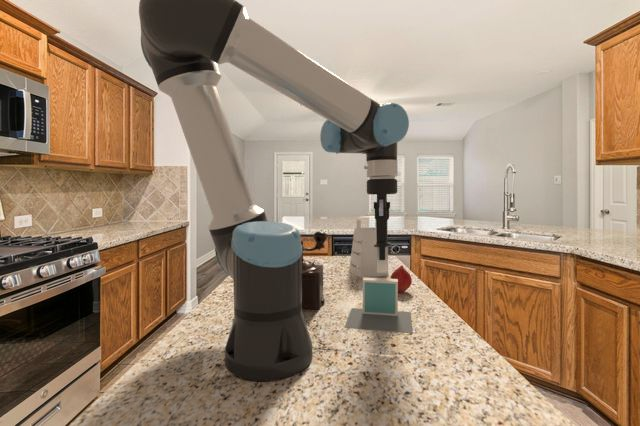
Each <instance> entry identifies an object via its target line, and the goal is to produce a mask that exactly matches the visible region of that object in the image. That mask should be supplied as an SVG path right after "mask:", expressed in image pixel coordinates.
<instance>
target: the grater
mask: <svg viewBox="0 0 640 426" xmlns="http://www.w3.org/2000/svg"><path fill="white" fill-rule="evenodd" d="M363 218H374V219H375V215H367V216H358V217H357V218H356V227H355V228H354V229H353V230H354V231H353V238H352V245H351V254H350V260H349V266H348V271H349V272H351V273H353V275H355V276H357V277H359V278H362V279H363V278H364V277H365V278H375V277H383V276H389V275H390V274H389V272H388V273H380V272H377V247H374V244H376V242H377V233H376V219H375V223H374V224H375V225H374V226H375V227H372V226H370V227H362V220H363Z"/></svg>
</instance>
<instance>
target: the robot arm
mask: <svg viewBox="0 0 640 426" xmlns="http://www.w3.org/2000/svg"><path fill="white" fill-rule="evenodd" d="M138 3H139V5H138V14H139V15H138V16H139V22H140V23H139V24H140V46H141V51H142V55H143V57H144V59H145V61H146V63H147V65H148V66H149V67H150V68H151V70H152V73H153V75H154V76H153V77H154V79H155V82H156V85H157V87H158V90H159V91H160V92H162V93H164V94H165V95H167V96H168V97H170V98H171V102H172V104H173V107H174V110H175V113H176V115H177V118H178V121H179V124H180V126H181V130H182V133H183V134H184V135H183V136H184V138H185V141H186V144H187V146H188V149H189V153H190V155H191V159H192V161H193V163H194V167H195V170H196V172H197V175H198V178H199V181H200V184H201V187H202V189H203V193H204V196H205V198H206V201H207V204H208V206H209V210H210V212H211V215H212V219H211V221H210V223H209V225H208V231H209V233H210V236H211V239H212V241H213V243H214V244H213V246H214V247H215V249H214V252H215V258H216V262H217V264H218V265H219V267H220V268H221V270H223V271H224V272H225V273H226V274H227V275H229V277H230V278H231V279H232V282H233V285H232V286H233V311H234V313H233V315H234V316H233V322H232V324H231V326H230V327H231V328H230V330H229V334H228V337H227V340H226V345H225V347H224V366H225V368H226V370H227V371H228V373H230V374H231V375H233V376H235V377H237V378H239V379H243V380H248V381H256V382H257V381H258V382H261V381H262V382H268V381H275V380H276V381H277V380H281V379H284V378H289V377H292V376H294V375H297V374H298V373H299V372H302V371H304V369H306V368H307V367H308V366H309V365H310V364H311V362H312V360H313V341H312V337H311V336H310V333H309V329H308V326H307V323H306V321H305V318H304V314H303V310H302V244H301V241H302V238H301V237H302V236H301V233H300V231H299V229H297V227H296V226H294V225H292V224H289V223H285V222H277V221H269V220H268V218H267V215H266V213H265V210H264V208H261V207H260V206H258V205H256V204H255V202H254V198H253V197H252V193H251V190H250V186H249V183H248V180H247V178H246V174H245V172H244V169H243V168H244V167H243V165H242V162H241V159H240V155H239V153H238V149H237V147H236V144H235V141H234V137H233V134H232V131H231V129H230V126H229V123H228V120H227V119H228V118H227V116H226V112H225V109H224V107H223V104H222V100H221V97H220V95H219V91H218V84H219V82H220V80H221V78H222V74H221V72H220V68H219V65H222V64H225V63H228V64H231V65H232V66H234V67H236V68H237V69H239V70H240V71H243V72H244V73H246V74H247V75H249V76H251V77H252V78H255V79H256V80H258V81H260V82H261V83H263V84H265V85H266V86H268V87H270V88H272V89H273V90H275V91H277V92H279V93H281V94H282V95H284V96H285V97H288V98H289V99H290V100H293V101H294V102H296V103H298V104H300V105H301V106H303V107H305V108H306V109H309V111H312V112H313V113H315V114H317V115H319V117H322V118H323V119H326V120H325V121H324V122H323V124H322V126H321V129H320V136H319V137H320V144H321V147H322V149H323V150H324V151H325V152H326V153H334V154H362V155H363V154H365V157H366V164H367V165H364V166H363V169H364V170H366V177H367V178H369V179H367V180H366V194H367V195H376V201H373V209H374V216H375V218H374V219H376V233H377V242H376V244H374V247H377V272H380V273H389V246H391V242H389V238H388V220H390V207H391V201H388V195H396V194H397V193H398V179H397V178H396V177H397V176H399V174H398V170H399V169H398V167H399V166H398V143H399V142H401V141H403V139H404V138H405V137H406V135H407V133H408V131H409V127H410V120H409V115H408V114H407V111H406V110H405V108H404V107H403V106H401V105H400V104H399V103H395V102H389V103H387V102H386V103H383V104H380V103H379V102H377V101H375V100H374V99H372V98H371V97H369V96H367V95H366V94H364V93H363V92H361V90H359V89H357V88H355V87H354V86H352V85H351V84H350V83H348V82H346V81H345V80H344V79H342V78H340V77H339V76H337V75H336V74H334V73H333V72H332V71H329V70H328V69H327V68H325V67H323V65H320V64H319V63H318V62H316V61H315V60H313V59H312V58H311V57H308V56H307V55H306V54H304V53H303V52H301V51H299V50H298V49H297V48H295V47H293V45H291V44H289V43H288V42H286V41H284V40H283V39H281V38H280V37H279V36H277V35H275V34H273V32H272V31H270V30H268V29H266V28H265V27H264V26H262V25H260V24H259V23H257V22H256V21H255V20H253V19H251V18H250V17H249V16H248V13H247V10H246V6H244V5H243V4H242V3H240V2H238V1H237V0H139V2H138Z"/></svg>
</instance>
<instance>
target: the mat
mask: <svg viewBox="0 0 640 426" xmlns="http://www.w3.org/2000/svg"><path fill="white" fill-rule="evenodd" d="M411 313H412V312H411V311H401V310H398V316H390V315H376V314H363V308H357V307H355V308H354V307H351V308H350V312H349V315H348V317H347V320H346V322H345V324H344V327H343V328H347V329H359V330H360V329H361V330H370V331H381V332H395V333H397V332H398V333H407V334H414V330H413V323H412V320H413V319H412V314H411Z"/></svg>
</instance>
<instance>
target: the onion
mask: <svg viewBox="0 0 640 426" xmlns="http://www.w3.org/2000/svg"><path fill="white" fill-rule="evenodd" d="M390 279H398V293H401V294H403V293H404V292H406V291H407V290H408V289H409V288H410V287H411V285H412V281H413V280H412V276H411V274H410V273H409V271H408V270H406V269H405V268H404V265H400V266H398V267H397V268H396V269H395V270H394V271H393V272H392V273H391V275H390Z"/></svg>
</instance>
